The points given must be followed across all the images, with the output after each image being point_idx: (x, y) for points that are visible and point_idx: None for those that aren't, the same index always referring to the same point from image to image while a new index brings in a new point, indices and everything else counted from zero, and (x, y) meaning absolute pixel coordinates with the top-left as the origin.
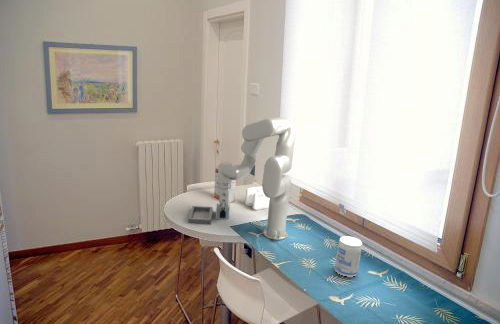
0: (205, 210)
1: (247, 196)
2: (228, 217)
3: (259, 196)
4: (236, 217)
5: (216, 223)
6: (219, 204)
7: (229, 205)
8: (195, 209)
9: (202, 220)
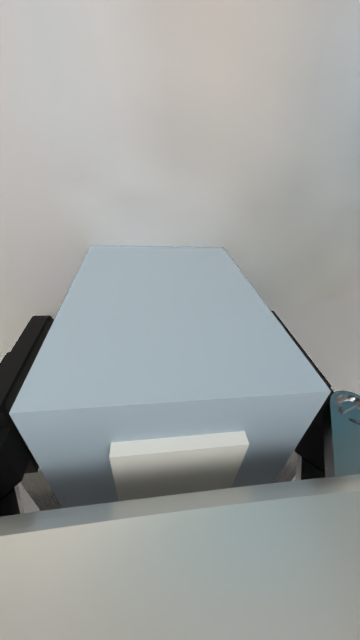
0: None
1: None
2: (230, 264)
3: None
4: (123, 87)
5: (313, 360)
6: None
7: (122, 407)
8: (57, 501)
9: None
